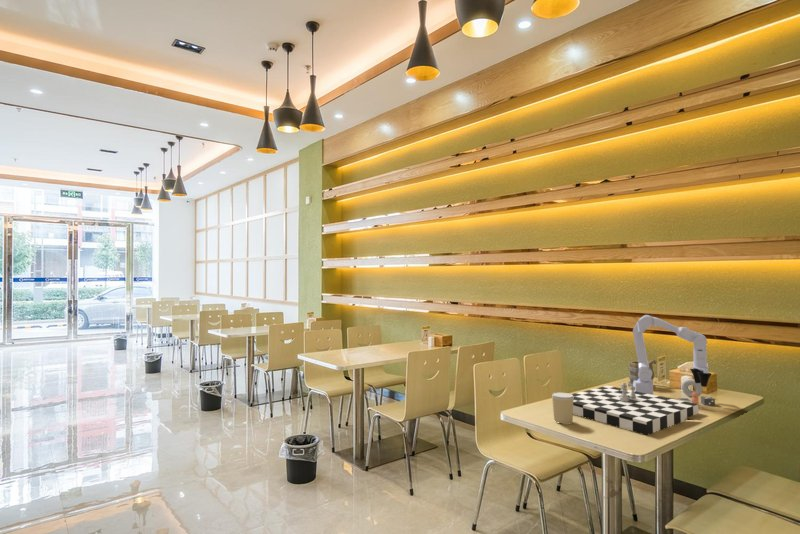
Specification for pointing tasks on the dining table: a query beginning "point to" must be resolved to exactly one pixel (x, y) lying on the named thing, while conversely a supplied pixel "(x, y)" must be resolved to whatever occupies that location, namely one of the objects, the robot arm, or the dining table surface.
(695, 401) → the pawn
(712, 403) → the die
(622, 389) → the checkerboard
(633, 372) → the tankard
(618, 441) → the dining table surface
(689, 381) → the donut
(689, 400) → the track board
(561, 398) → the coffee cup
